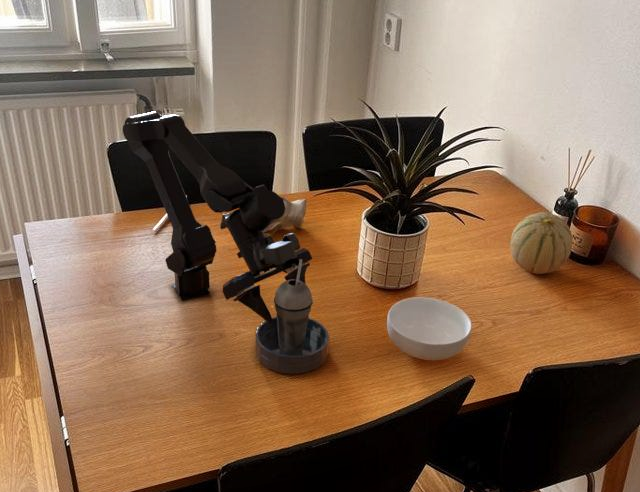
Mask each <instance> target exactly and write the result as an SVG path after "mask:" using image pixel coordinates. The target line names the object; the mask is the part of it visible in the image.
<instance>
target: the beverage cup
mask: <svg viewBox="0 0 640 492" xmlns="http://www.w3.org/2000/svg"><path fill="white" fill-rule="evenodd" d="M301 266H302V259H300V261H299V267H298V273H297V279H296V280H295V279H292V280H287V281H286V280H285V281H284V282H282V283H281V284H280V285H279V286H278V287H277V288H276V291H275V293H274V298H273V303H274V308H275V313H276V317H277V327H278V341H279V348H280V353H281V354H283V355H289V356H295V355H301V354H302V352H303V347H304V342H305V336H306V329H307V323H308V318H310V317H309V316H310V313H311V310H312V306H313V302H314V301H313V300H314V299H313V295H312V292H311V290H310V288H309V286H308V285H307V283H306V282H305V283H303V282H302V281H299V278H300V272H301Z"/></svg>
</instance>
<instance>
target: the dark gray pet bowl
mask: <svg viewBox="0 0 640 492" xmlns="http://www.w3.org/2000/svg"><path fill="white" fill-rule="evenodd" d="M272 319H273V322H271V323H268V322H267V321H266V320H264V321H262V323H260V324H259V326H257V329H256V331H255V335H254V341H255V342H254V350H255V357H256V358H257V360H258V362H259V363H260V364H261V365H263V366H264V367H265V368H267V369H269V370H272V371H274V372H277V373H281V374H287V375H298V374H305V373H308V372H311V371H314V370H316V369H318V368H320V367H321V366H322V365H323V364H324V363H325V362H326V361H327V358H328V355H329V347H330V346H329V345H330V335H329V331H328V329H327V328H326V327H325V326H324V324H322V323H320V322H319V321H317V320H316V319H313V318H311V317H308V323H307V329H306V336H305V342H304V347H303V352H302V354H301V355H295V356H289V355H283V354H281V353H280V348H279V341H278V327H277V316H273V317H272Z"/></svg>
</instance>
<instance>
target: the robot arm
mask: <svg viewBox="0 0 640 492" xmlns="http://www.w3.org/2000/svg"><path fill="white" fill-rule="evenodd" d="M122 134H123V137H124V138H125V140H126V142H127V143H128V145H129V147H130V149H131V151H132V153H134V154H135V155H137V156H138V157H139V158H140V159H141V160H143V161H144V162H145V164H146V166H147V169H148V171H149V173H150V176H151V178H152V182H153V184H154V186H155V189H156V191H157V193H158V195H159V198H160V201H161V203H162V206H163V208H164V210H165V214H167V215H168V218H167V219H168V220H169V222H170V225H171V227H172V233H171V239H170V245H171V248H172V252H171V254H169V255H168V256H167V257H166V258H165V259H164V261H165V264H166V267H167V269H168V270H169V271H171V272H173V273H174V283H173V284H172V288H173V289H174V291H175V292H176V295H177V296H178V298H179V299H180V300H181V301H185V300H186V301H187V300H191V299H197V298H200V297H201V298H202V297H206V296H210V295H211V291H210V290H209V289H210V286H211V285H210V271H209V270H208V267H207V266H209V265H212V264H214V260H215V257H216V253H217V250H218V249H217V245H216V240H215V238H214V237H213V235H212V231H211V228H210V227H209V226H208V225H207V224H206V225H202V224H201V223H200V222H199V221H197V219H196V218H195V217H196V216H195V215H194V213H193V210H192V208H191V205H190V203H189V200H188V197H187V198H186V192H185V190H184V188H183V185H182V183H181V180H180V177H179V176H178V173H177V170H176V167H175V166H174V163H173V161H172V159H171V156H170V149H171V150H172V152H173V153H174V154H175V155H176V157H178V159H179V160H180V161H181V162H182V164H184V166H185V167H186V168H187V170H188V171H189V172H190V173H191V174H192V175H193V177H194V178H195V179H196V181H197V182H198V184H199V191H200V196H201V197H202V199H203V200H204V202H205V203H206V205H207V207H208V208H210V210H212V212H214V213H217V214H218V213H219V214H222V213H223V214H222V215H221V221H220V226H219V228H220V230H225V229H228V231H229V233H230V235H231V237H232V239H233V241H234V244H235V245H236V247H237V249H238V252H237V253H236V255H237V257H238V259H241V258H243V260H244V262H245V264H246V266H247V268H248V270H249V271H245V272H243V273H241V274H239V275H236V276H234V277H232V278H231V279H229V280H228V281H227V282H225V283H224V284H223V285H222V295H223V296H224V298H225V300H226V301H229V300H231V299H233V302H239V303H241V304H242V305H244V306H245V307H247V308H248V309H250V310H252V311H253V312H255V313H256V314H257V315H258V316H259V317H261V319H263V320H264V321H267V322H268V323H271V322H273V319H272V318H273V317H272V314H271V311H270V310H269V309H268V306H267V304H266V303H265V300H264V299H263V297H262V295H261V286H260V284H258V285H255V284H257V283H260V282H263V281H264V280H267V279H269V278H271V277H274V276H276V275H279V274H280V273H285V274H286V275H284V276H283V278H284V279H285V281H287V280H292V279H295V280H296V279H297V273H298V267H299V261H300V259H302V266H301V272H300V278H299V281H302V282H303V283H305V284H306V273H307V270H308V268H309V267H310V266H311V265H310V264H311V263H310V262H311V261H312V260H313V259H314V258H313V255H312V254H311V252H310V251H309V249H307V248H305V247H302V248H301V242H300V240H299V238H298V237H297V235H296V234H295V232H290V233H287V234H285V235H283V236H282V239H281V240H279V241H275V240H274V238H273V236H271V235H268V236H267V234H265V233H264V231H263V230H265V229H266V228H267V227H269V226H270V225H271V224H273V223H274V222H275V221H277V220H278V219H279V218H281V217H282V216H283V214H284V212H285V204H284V201H283V199H282V198H283V197H282V198H281V196H280V195H279V194H278V193H277V192H275V191H274V190H271V189H267V187H266V185H265V184H260V185H258V186H255V187H254V188H253V186H251V185H249V184H248V183H246V182H245V181H244V180H243V178H241V177H240V176H239V175H238V174H237V173H235V171H234V170H232V169H230V168H228V167H225V166H223V165H221V164H219V163H218V162H217V161H216V160H215V158H213V156H212V155H211V154H210V153H209V152H208V151H207V149H206V148H205V147H204V146H203V144H201V142H200V141H199V139H197V138H196V136H195V135H194V134H193V133H192V132H191V131H190V129H189V128H188V127H187V126H186V122H185V120H184V119H183V117H181V116H180V115H178V114H168V115H167V114H166V115H163V114H160V113H159V112H157V111H151V112H147V113H142V114H141V113H140V114H137V115H132V116H127V117H126V118H125V120H124V124H123V125H122Z"/></svg>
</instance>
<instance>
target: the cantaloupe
mask: <svg viewBox="0 0 640 492" xmlns="http://www.w3.org/2000/svg"><path fill="white" fill-rule="evenodd" d="M509 243H510V247H509V248H510V253H511V256H512V259H513V260H514V262H515V263H516V264H517V266H519V267H520V268H522V269H523V270H524V271H526V272H529V273H532V274H535V275H543V274H549V273H552V272H555V271H557V270H558V269H560V268H561V267H562V266H564V264H565V263H566V262H567V261H568V259H569V257H570V255H571V252H572V249H573V234H572V230H571V228H570V226H569V224H568V223H566V221H565V220H564V219H563V218H562V217H560V216H559V215H557V214H554V213H550V212H544V211H542V212H541V211H540V212H535V213H532V214H529V215H527V216H526V217H524V218H523V219H522V220H521V221H520V222H519V223H517V225H516V226H515V227H514V229H513V231H512V234H511V237H510V241H509Z"/></svg>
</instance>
